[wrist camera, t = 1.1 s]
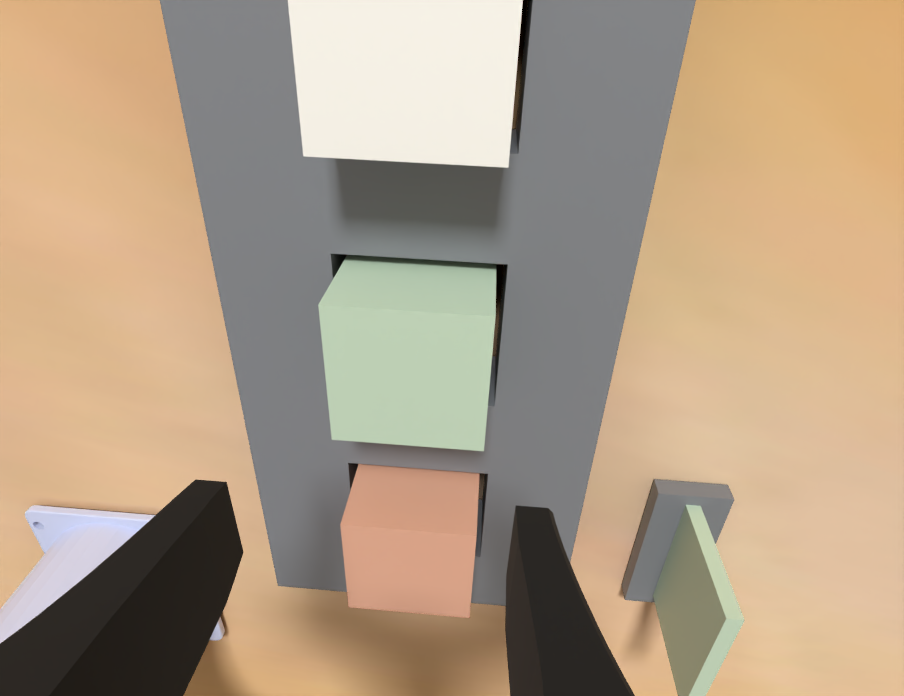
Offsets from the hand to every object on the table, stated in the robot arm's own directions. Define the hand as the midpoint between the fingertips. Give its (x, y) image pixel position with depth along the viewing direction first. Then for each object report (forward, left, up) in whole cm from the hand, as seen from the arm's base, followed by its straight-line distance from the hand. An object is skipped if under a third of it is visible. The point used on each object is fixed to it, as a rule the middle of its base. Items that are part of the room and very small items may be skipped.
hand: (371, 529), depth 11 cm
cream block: (+8, 0, -9) cm, 12 cm away
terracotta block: (-8, 0, -9) cm, 12 cm away
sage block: (0, 0, -9) cm, 9 cm away
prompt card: (-11, -11, -10) cm, 19 cm away
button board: (0, 0, -10) cm, 10 cm away
